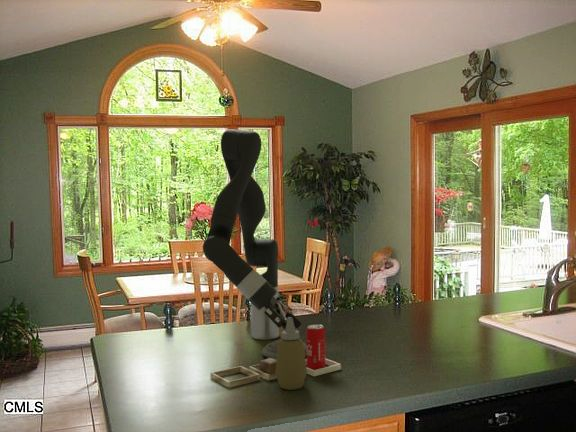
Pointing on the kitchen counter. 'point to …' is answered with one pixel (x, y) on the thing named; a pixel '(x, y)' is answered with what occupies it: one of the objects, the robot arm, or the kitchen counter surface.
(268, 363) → the walnut cube
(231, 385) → the pen
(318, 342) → the beverage can
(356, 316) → the kitchen counter surface
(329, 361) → the pen
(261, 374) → the square wooden frame
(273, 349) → the flying saucer
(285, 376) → the squeeze bottle
